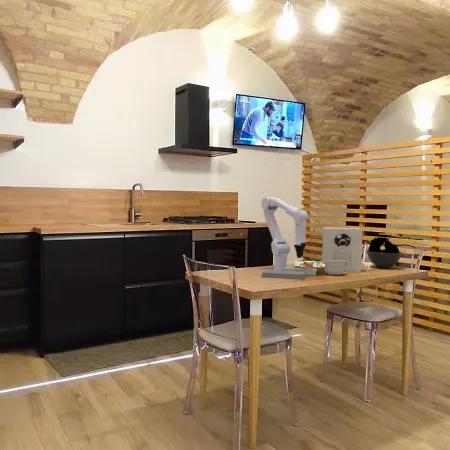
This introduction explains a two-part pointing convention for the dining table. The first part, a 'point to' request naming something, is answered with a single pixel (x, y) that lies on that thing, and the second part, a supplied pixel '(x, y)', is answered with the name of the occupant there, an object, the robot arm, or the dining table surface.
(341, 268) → the teacup
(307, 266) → the crate terracotta
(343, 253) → the cereal box
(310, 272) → the grey rectangular bar
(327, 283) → the dining table surface
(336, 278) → the dining table surface
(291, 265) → the crate cream
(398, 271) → the dining table surface
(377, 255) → the coal bowl
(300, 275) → the block
